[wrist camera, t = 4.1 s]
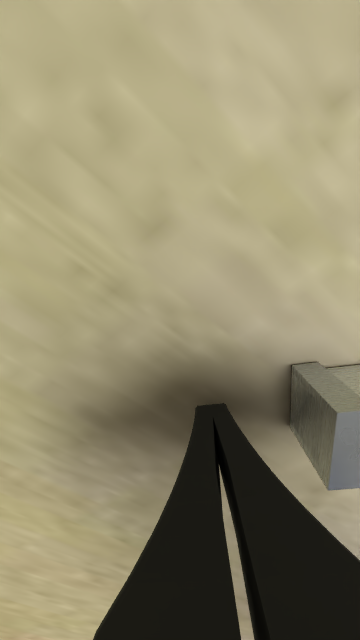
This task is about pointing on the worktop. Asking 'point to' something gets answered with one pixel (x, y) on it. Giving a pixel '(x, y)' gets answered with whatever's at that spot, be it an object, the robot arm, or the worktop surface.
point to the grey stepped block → (328, 421)
